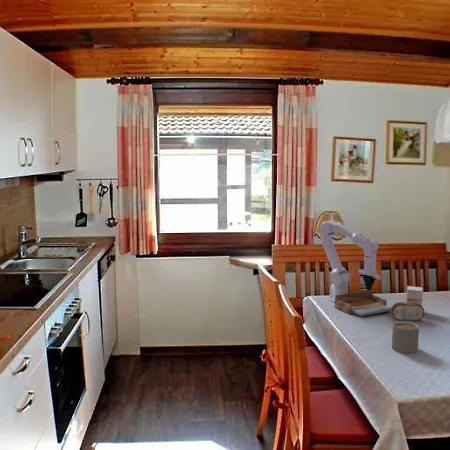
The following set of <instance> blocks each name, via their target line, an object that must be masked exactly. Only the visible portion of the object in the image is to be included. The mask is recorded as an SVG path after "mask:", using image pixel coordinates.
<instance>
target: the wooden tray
mask: <svg viewBox="0 0 450 450" xmlns="http://www.w3.org/2000/svg"><path fill="white" fill-rule="evenodd" d="M373 293H374V289H371V290H369V291H368V290H366V289H364V290H360V291H352V292H348V293H344V294H338V295H335V302H334V309H336V310H339V311H341V312H343V313H345V314H347V315H354V314H355V313H353V310H358V309H364V308H370V307H376V306H382V305H385V306H387V299H385V298H383V297H381V296H377V295H375V294H373ZM355 315H356V314H355Z"/></svg>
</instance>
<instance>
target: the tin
mask: <svg viewBox="0 0 450 450" xmlns="http://www.w3.org/2000/svg"><path fill="white" fill-rule="evenodd" d="M391 308H392V309H391V311H390V312H391V315H392V316H393V318H394V319H396V320H398V321H407V322H411V321H413V322H414V321H415V322H418V321H420V320H422V319H423V318H424V316H425V309H424V307H423V305H422V306H421V305H420V304H418V303H406V302H404V301H402V302H396V303H394V304H393V305H392V306H391Z"/></svg>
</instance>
